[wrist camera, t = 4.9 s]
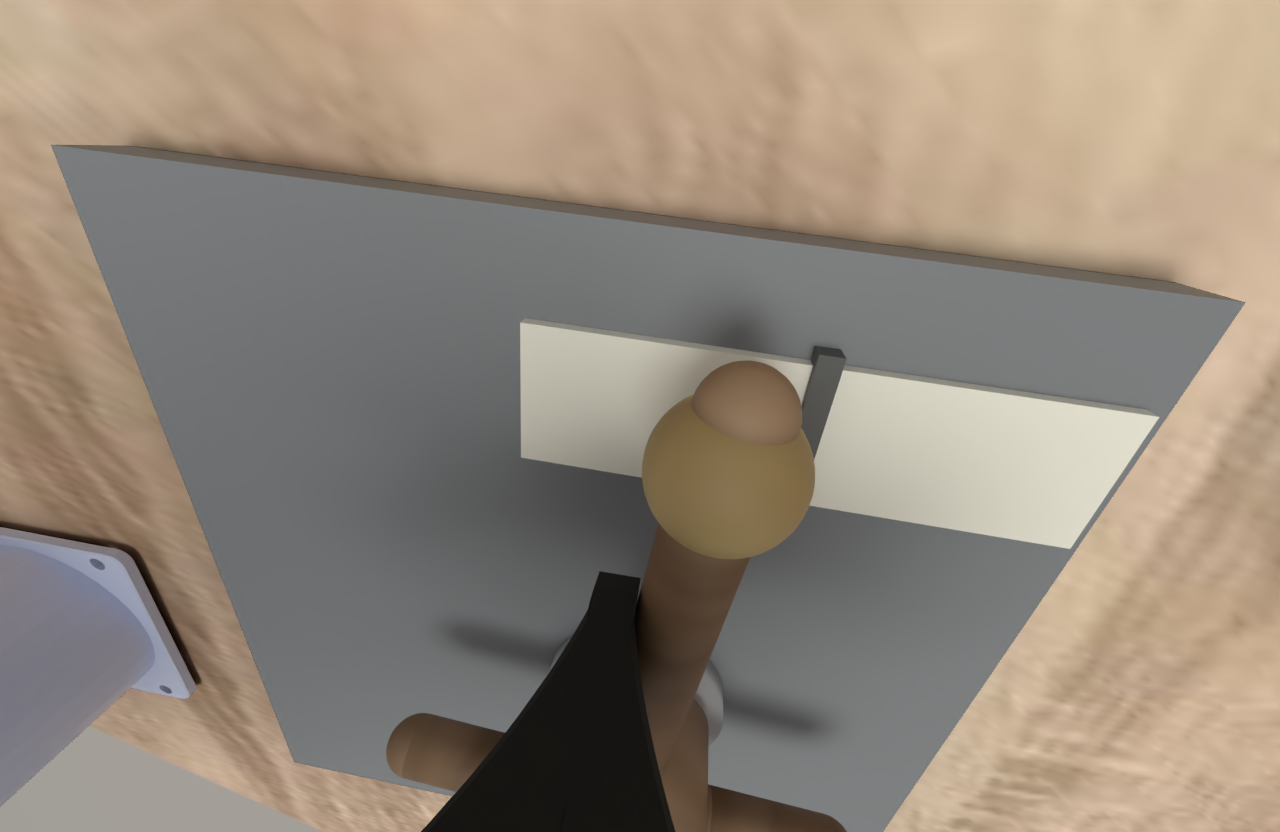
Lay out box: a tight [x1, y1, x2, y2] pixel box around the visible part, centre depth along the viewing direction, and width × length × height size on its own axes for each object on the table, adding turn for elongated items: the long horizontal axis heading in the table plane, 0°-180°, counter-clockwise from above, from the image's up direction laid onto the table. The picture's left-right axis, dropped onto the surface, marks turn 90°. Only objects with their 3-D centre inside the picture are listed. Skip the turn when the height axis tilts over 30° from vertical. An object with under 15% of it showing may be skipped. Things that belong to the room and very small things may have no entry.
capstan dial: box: [386, 360, 847, 832], centre depth 11 cm, size 18×12×3 cm
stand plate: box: [51, 145, 1245, 832], centre depth 15 cm, size 22×22×2 cm
